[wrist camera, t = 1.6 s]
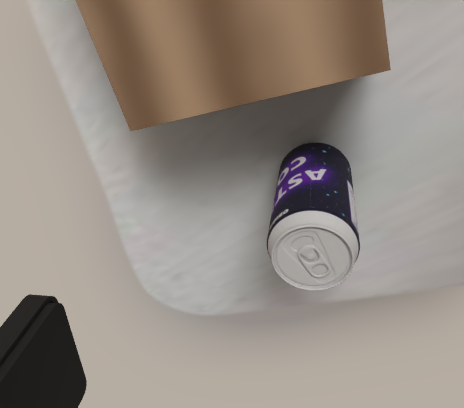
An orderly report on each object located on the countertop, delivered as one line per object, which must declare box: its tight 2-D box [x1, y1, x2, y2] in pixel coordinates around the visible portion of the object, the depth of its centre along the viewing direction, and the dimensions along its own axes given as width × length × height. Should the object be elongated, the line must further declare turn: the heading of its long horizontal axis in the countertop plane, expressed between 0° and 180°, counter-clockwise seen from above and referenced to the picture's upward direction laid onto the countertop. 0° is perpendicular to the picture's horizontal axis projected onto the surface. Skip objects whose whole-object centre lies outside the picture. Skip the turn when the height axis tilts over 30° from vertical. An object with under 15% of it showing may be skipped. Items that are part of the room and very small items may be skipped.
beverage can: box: [267, 143, 360, 291], centre depth 32 cm, size 6×6×12 cm
